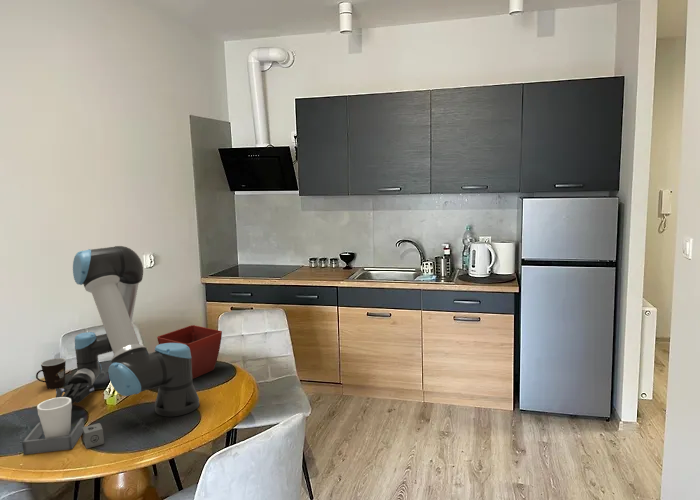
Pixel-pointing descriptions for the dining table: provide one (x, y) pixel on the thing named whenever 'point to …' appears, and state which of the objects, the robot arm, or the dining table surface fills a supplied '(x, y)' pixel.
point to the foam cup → (55, 416)
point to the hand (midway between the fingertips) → (60, 409)
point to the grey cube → (93, 435)
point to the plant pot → (197, 346)
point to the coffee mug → (53, 373)
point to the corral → (51, 440)
